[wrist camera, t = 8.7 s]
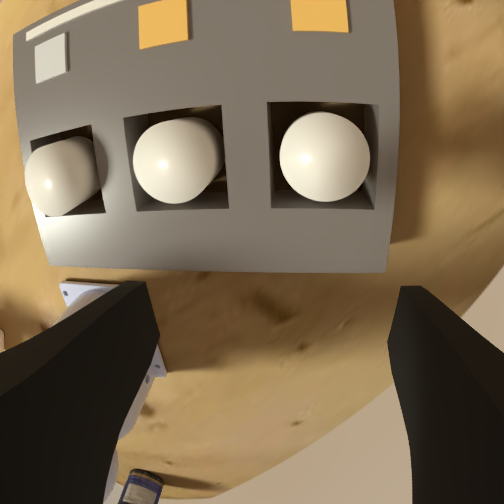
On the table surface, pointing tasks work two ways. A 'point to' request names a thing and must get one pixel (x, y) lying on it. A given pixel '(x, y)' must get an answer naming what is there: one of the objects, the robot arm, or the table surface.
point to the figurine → (1, 341)
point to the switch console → (234, 127)
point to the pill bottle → (141, 488)
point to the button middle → (178, 158)
